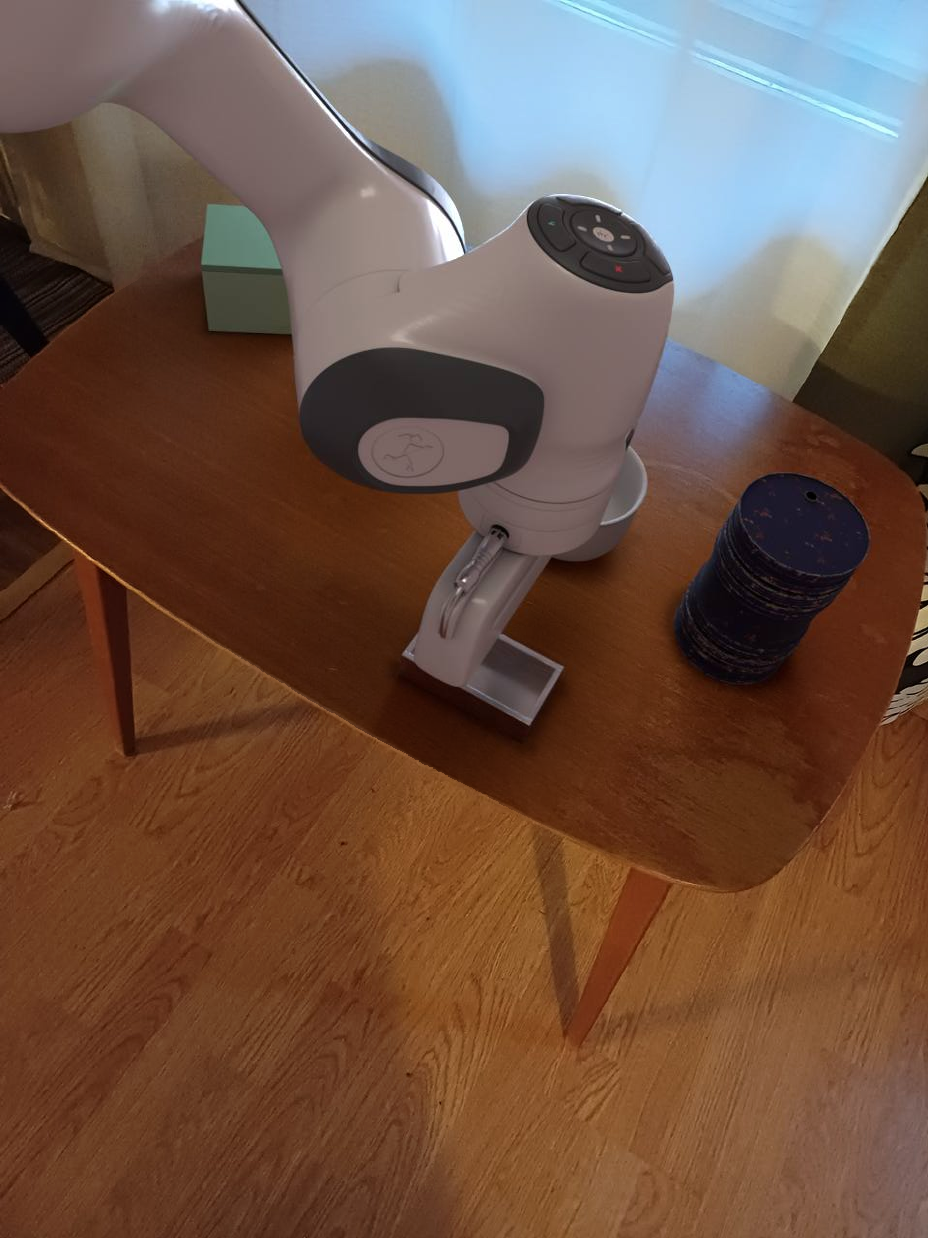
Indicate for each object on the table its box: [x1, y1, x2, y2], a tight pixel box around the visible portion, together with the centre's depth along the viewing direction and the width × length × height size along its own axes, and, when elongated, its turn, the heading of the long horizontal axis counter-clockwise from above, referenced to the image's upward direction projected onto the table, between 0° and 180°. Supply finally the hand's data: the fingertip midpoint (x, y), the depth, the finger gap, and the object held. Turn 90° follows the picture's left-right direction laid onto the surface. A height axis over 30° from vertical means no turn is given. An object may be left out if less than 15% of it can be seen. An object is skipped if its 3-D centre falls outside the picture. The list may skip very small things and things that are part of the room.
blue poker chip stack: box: [673, 471, 871, 686], centre depth 72 cm, size 10×10×15 cm
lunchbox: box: [201, 270, 292, 335], centre depth 92 cm, size 12×10×7 cm
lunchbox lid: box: [200, 203, 283, 275], centre depth 89 cm, size 12×10×1 cm
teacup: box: [551, 445, 649, 562], centre depth 80 cm, size 14×11×8 cm
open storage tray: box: [398, 632, 565, 744], centre depth 72 cm, size 11×6×3 cm, turn 61°
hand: (499, 613), depth 65 cm, fingers open, 8 cm apart
